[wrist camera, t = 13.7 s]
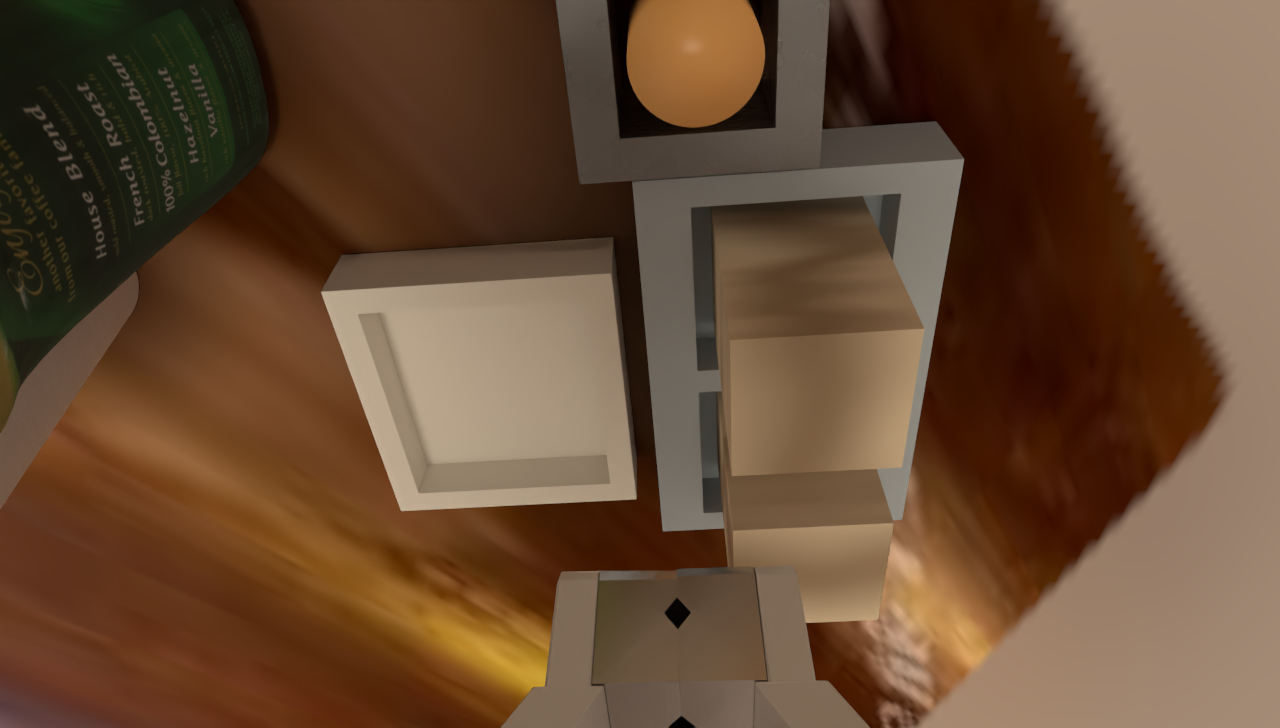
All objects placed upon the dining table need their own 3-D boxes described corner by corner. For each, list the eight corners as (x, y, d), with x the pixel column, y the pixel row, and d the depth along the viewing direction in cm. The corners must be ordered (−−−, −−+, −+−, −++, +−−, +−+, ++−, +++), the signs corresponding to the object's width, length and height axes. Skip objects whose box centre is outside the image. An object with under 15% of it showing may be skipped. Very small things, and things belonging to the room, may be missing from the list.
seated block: (835, 459, 35) (877, 619, 29) (717, 465, 36) (734, 625, 29) (844, 366, 32) (893, 523, 26) (715, 373, 32) (733, 530, 26)
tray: (636, 457, 37) (636, 499, 35) (413, 469, 37) (401, 511, 35) (613, 237, 30) (611, 273, 28) (341, 254, 30) (320, 291, 28)
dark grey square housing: (799, 116, 27) (819, 167, 24) (586, 131, 28) (579, 184, 24) (809, -130, 23) (836, -107, 20) (558, -109, 23) (545, -83, 20)
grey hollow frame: (885, 468, 37) (902, 519, 35) (661, 480, 37) (662, 531, 35) (936, 121, 27) (964, 159, 25) (633, 142, 28) (632, 181, 25)
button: (749, 74, 26) (763, 122, 23) (633, 82, 26) (632, 132, 23) (749, -53, 24) (766, -19, 20) (623, -43, 24) (620, -8, 21)
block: (859, 190, 28) (924, 328, 21) (848, 314, 31) (901, 467, 24) (710, 201, 28) (730, 340, 22) (713, 322, 31) (731, 476, 25)
